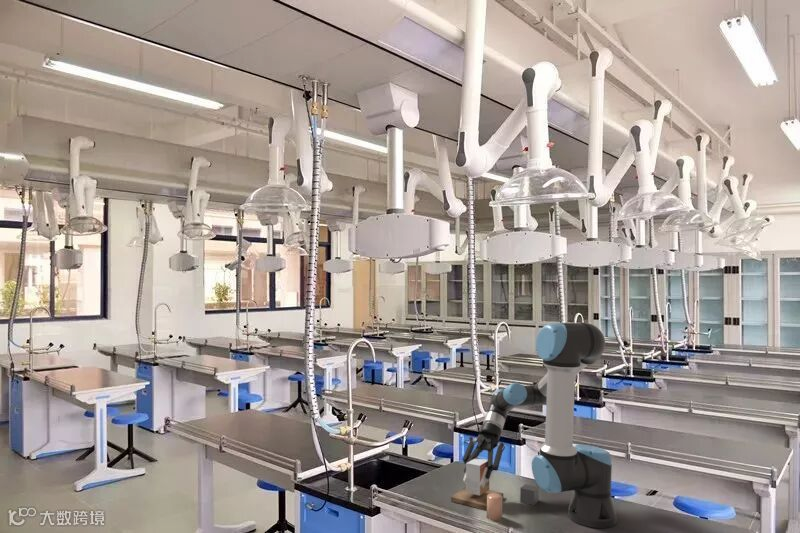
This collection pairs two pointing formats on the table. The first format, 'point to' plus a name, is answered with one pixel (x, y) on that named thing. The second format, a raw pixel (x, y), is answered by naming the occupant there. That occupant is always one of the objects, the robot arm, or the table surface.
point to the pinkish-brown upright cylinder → (494, 507)
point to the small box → (476, 476)
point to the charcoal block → (529, 494)
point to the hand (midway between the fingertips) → (473, 484)
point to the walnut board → (473, 498)
